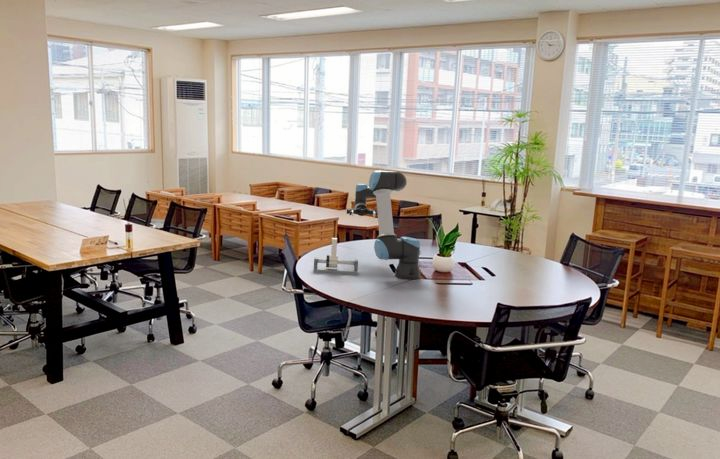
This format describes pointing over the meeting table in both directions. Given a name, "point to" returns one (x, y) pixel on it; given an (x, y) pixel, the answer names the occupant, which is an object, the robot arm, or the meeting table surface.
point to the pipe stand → (336, 270)
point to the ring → (327, 261)
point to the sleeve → (333, 254)
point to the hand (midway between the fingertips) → (363, 214)
